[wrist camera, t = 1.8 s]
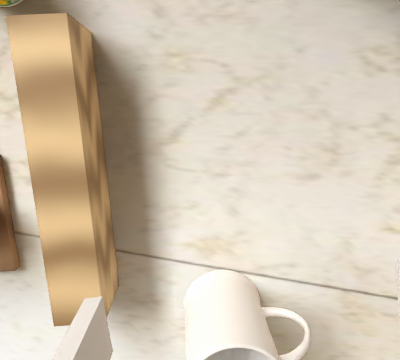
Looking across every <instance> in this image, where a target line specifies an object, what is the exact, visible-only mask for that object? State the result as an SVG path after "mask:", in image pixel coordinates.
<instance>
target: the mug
mask: <svg viewBox="0 0 400 360" xmlns="http://www.w3.org/2000/svg"><path fill="white" fill-rule="evenodd" d="M184 314H185V318H186V329H185V360H300V359H302V358H303V356H304V355H305V354H306V353H307V351H308V349H309V347H310V343H311V332H310V329H309V326H308V324H307V323H306V321H305V320H304V319H303V318H302V317H301V316H300V315H298V314H297V313H295V312H293V311H290V310H288V309H284V308H277V307H261V305H260V297H259V293H258V291H257V289H256V287H255V286H254V284H253V283H252V282H251V281H250V280H249V279H248V278H247V277H245V276H244V275H242V274H240V273H237V272H234V271H230V270H216V271H212V272H208V273H206V274H204V275H202V276H200V277H199V278H198V279H196V280H195V281H194V282H193V283H192V284H191V286H190V287H189V289H188V290H187V292H186V295H185V298H184ZM272 316H279V317H286V318H289V319H292V320H294V321H296V322H298V323H299V324H300V325H301V326H302V327H303V328H304V331H305V337H304V339H303V341H302V343H301V344H300V345H299V346H298V347H297V348H296V349H294V350H293V351H291V352H289V353H287V354H283V355H278V352H277V350H276V347H275V344H274V341H273V339H272V336H271V333H270V330H269V328H268V325H267V322H266V319H265V318H268V317H272Z"/></svg>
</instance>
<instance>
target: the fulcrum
mask: <svg viewBox="0 0 400 360" xmlns="http://www.w3.org/2000/svg"><path fill="white" fill-rule="evenodd" d="M19 266H20V264H19V259H18V253H17V247H16V241H15V236H14V230H13V224H12V218H11V212H10V207H9V201H8V195H7V189H6V184H5V178H4V172H3V166H2V161H1V155H0V271H14V270H16V269H17V268H18V267H19Z"/></svg>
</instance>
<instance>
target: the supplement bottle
mask: <svg viewBox="0 0 400 360" xmlns="http://www.w3.org/2000/svg"><path fill="white" fill-rule="evenodd" d="M22 1H23V0H0V7H11V6H14V5H17V4H19V3H20V2H22Z"/></svg>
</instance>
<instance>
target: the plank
mask: <svg viewBox="0 0 400 360" xmlns="http://www.w3.org/2000/svg"><path fill="white" fill-rule="evenodd" d="M6 21H7V27H8V34H9V40H10V47H11V53H12V59H13V66H14V72H15V79H16V85H17V92H18V98H19V104H20V111H21V117H22V124H23V130H24V136H25V143H26V149H27V156H28V162H29V169H30V175H31V181H32V188H33V194H34V201H35V207H36V214H37V220H38V226H39V233H40V239H41V246H42V252H43V259H44V265H45V271H46V278H47V284H48V291H49V297H50V303H51V310H52V316H53V323H54V326H65V325H71V323H72V321H73V319H74V317H75V316H76V314H77V312H78V310H79V308H80V306H81V305H82V303H83V301H84V299H85V298H93V297H101V296H102V298H103V303H104V309H105V314H106V317H107V315H108V312H109V310H110V307H111V304H112V302H113V299H114V297H115V294H116V292H117V289H118V286H119V281H118V272H117V263H116V254H115V245H114V236H113V227H112V218H111V209H110V200H109V190H108V181H107V172H106V163H105V154H104V145H103V136H102V127H101V118H100V109H99V99H98V90H97V81H96V72H95V63H94V54H93V45H92V36H91V32H90V31H89V30H88V29H87V28H85V27H84V26H83V25H81V24H80V23H79V22H78V21H76V20H75V19H74V18H72V17H71V16H70V15H69V14H67V13H51V14H30V15H9V16H6Z"/></svg>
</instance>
